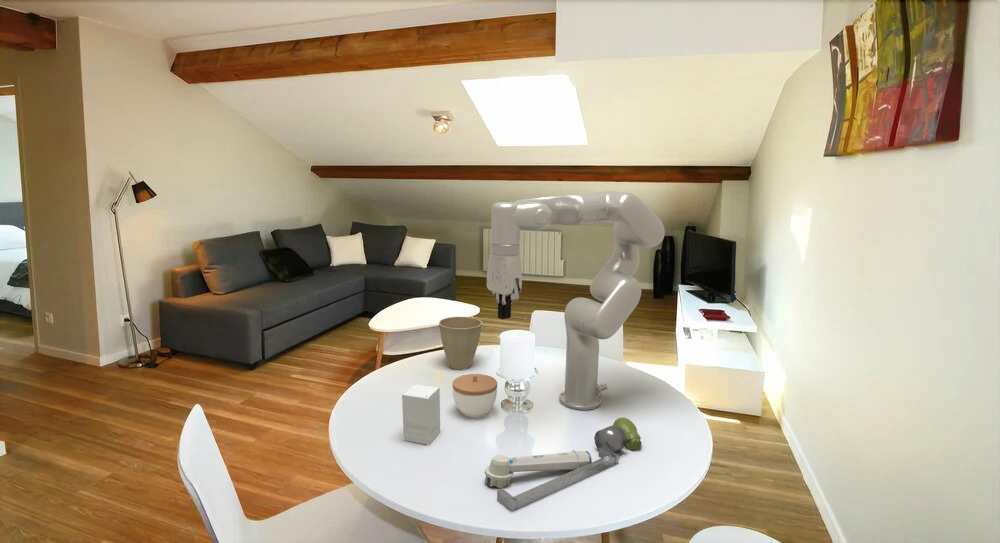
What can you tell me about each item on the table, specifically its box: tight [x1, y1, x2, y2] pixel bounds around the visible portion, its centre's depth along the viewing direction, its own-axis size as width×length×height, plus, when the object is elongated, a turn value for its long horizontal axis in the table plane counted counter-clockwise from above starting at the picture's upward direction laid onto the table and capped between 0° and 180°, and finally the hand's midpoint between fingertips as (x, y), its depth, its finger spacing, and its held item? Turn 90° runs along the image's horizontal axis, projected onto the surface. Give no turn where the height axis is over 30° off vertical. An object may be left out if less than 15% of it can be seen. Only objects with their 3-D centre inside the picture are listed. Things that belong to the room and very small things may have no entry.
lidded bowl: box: [452, 373, 498, 419], centre depth 152 cm, size 13×13×11 cm
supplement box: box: [401, 383, 441, 446], centre depth 138 cm, size 7×7×13 cm
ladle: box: [496, 424, 627, 513], centre depth 123 cm, size 37×8×6 cm, turn 126°
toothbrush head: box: [484, 449, 593, 489], centre depth 122 cm, size 5×7×25 cm
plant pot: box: [438, 316, 483, 371], centre depth 187 cm, size 15×15×16 cm
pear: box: [612, 417, 642, 451], centre depth 138 cm, size 6×5×10 cm
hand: (504, 317), depth 144 cm, fingers closed
